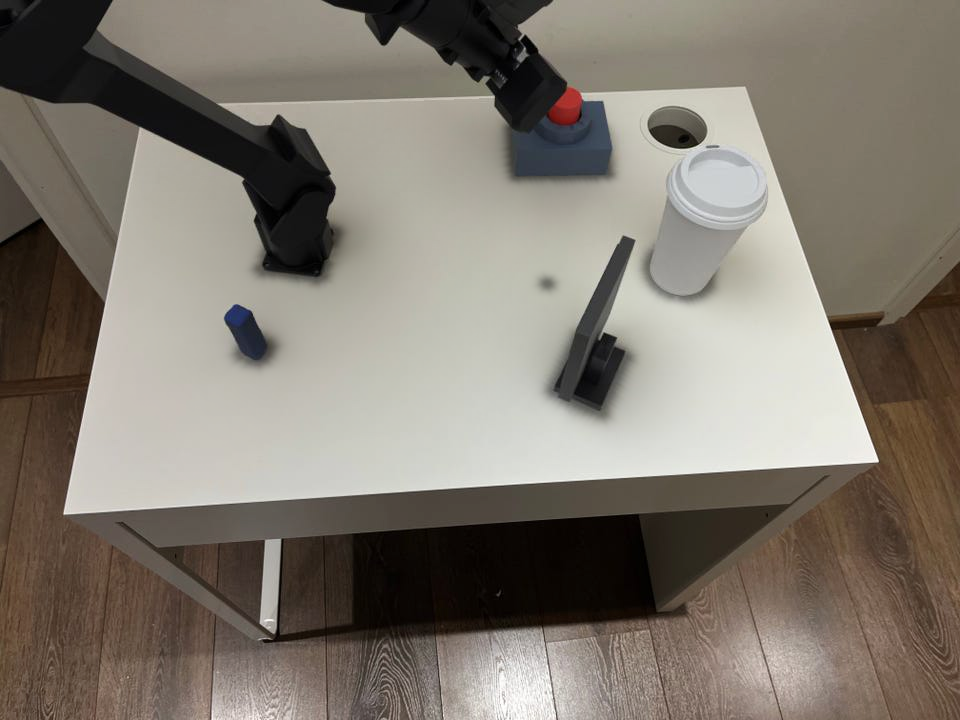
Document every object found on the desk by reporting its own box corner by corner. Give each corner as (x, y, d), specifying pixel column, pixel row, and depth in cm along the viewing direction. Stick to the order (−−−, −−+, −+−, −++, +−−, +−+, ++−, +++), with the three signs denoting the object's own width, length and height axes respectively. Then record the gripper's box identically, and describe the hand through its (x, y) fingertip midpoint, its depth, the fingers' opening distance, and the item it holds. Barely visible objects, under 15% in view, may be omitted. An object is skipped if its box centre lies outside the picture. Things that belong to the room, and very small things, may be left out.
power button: (549, 126, 80) (551, 108, 78) (546, 104, 82) (548, 86, 80) (580, 126, 80) (584, 108, 78) (576, 104, 82) (580, 86, 80)
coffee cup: (726, 248, 79) (779, 149, 66) (717, 316, 75) (772, 224, 62) (642, 229, 80) (678, 128, 67) (629, 296, 76) (665, 201, 63)
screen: (556, 396, 66) (574, 330, 56) (597, 309, 71) (621, 234, 61) (569, 402, 66) (590, 337, 55) (609, 314, 71) (636, 239, 60)
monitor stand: (553, 390, 70) (560, 363, 65) (578, 337, 73) (587, 306, 68) (599, 411, 69) (611, 384, 64) (623, 355, 72) (636, 326, 67)
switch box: (515, 176, 84) (518, 138, 78) (510, 128, 88) (513, 89, 82) (606, 174, 84) (615, 136, 79) (597, 127, 88) (606, 88, 83)
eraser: (257, 363, 71) (239, 327, 65) (240, 353, 71) (220, 316, 65) (271, 347, 71) (254, 310, 66) (253, 337, 72) (235, 300, 66)
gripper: (562, -4, 55) (645, 73, 67) (453, -121, 62) (545, -33, 75) (471, 108, 60) (564, 160, 72) (381, -14, 67) (478, 53, 80)
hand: (538, 81), depth 74 cm, fingers closed
